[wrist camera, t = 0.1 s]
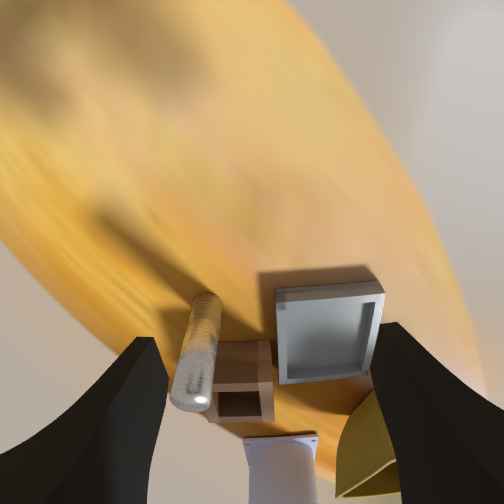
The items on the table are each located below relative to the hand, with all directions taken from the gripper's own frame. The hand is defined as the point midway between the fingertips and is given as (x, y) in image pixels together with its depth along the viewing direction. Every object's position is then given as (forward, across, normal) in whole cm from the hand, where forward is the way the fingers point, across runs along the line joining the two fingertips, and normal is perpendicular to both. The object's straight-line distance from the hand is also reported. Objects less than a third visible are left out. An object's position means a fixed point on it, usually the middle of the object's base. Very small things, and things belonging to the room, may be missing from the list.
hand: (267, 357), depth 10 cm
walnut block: (+10, +2, +11) cm, 15 cm away
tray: (+10, -4, +8) cm, 14 cm away
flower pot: (+10, -11, +19) cm, 24 cm away
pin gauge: (+10, +4, +5) cm, 12 cm away
